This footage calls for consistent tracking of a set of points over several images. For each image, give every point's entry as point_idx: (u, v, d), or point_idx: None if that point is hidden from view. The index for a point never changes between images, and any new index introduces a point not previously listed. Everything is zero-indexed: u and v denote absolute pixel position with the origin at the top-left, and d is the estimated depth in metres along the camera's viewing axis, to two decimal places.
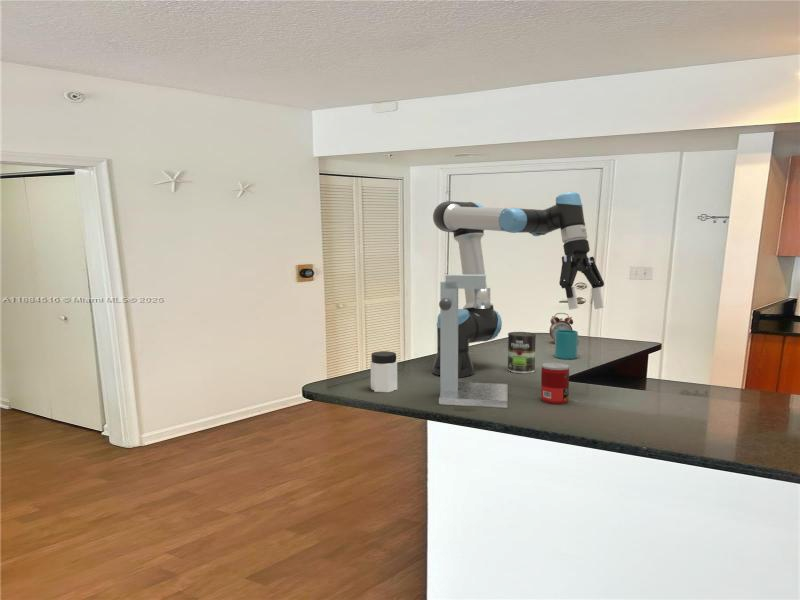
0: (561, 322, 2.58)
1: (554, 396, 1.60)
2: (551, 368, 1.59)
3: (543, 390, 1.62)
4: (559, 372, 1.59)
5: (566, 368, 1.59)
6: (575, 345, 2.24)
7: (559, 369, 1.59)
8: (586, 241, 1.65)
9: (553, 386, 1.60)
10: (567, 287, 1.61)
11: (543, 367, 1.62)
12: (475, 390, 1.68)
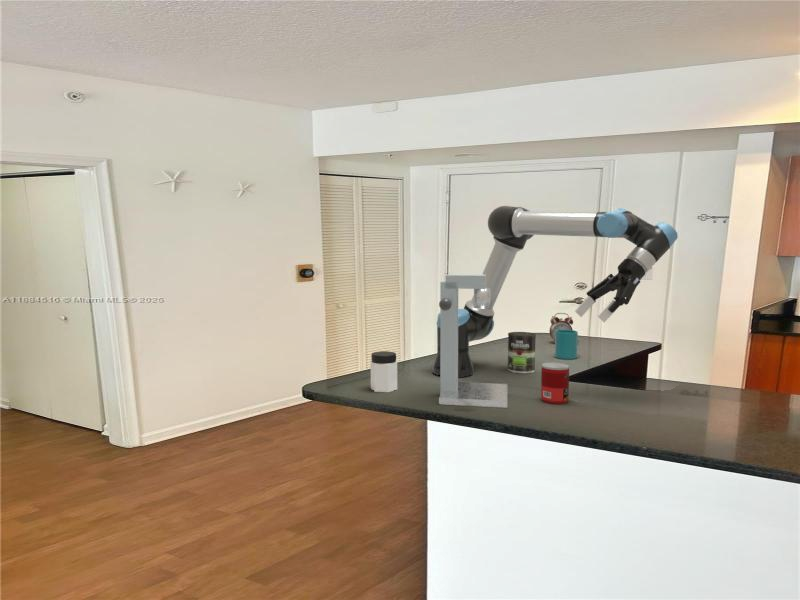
0: (561, 322, 2.58)
1: (554, 396, 1.60)
2: (551, 368, 1.59)
3: (543, 390, 1.62)
4: (559, 372, 1.59)
5: (566, 368, 1.59)
6: (575, 345, 2.24)
7: (559, 369, 1.59)
8: None
9: (553, 386, 1.60)
10: (619, 304, 1.55)
11: (543, 367, 1.62)
12: (475, 390, 1.68)
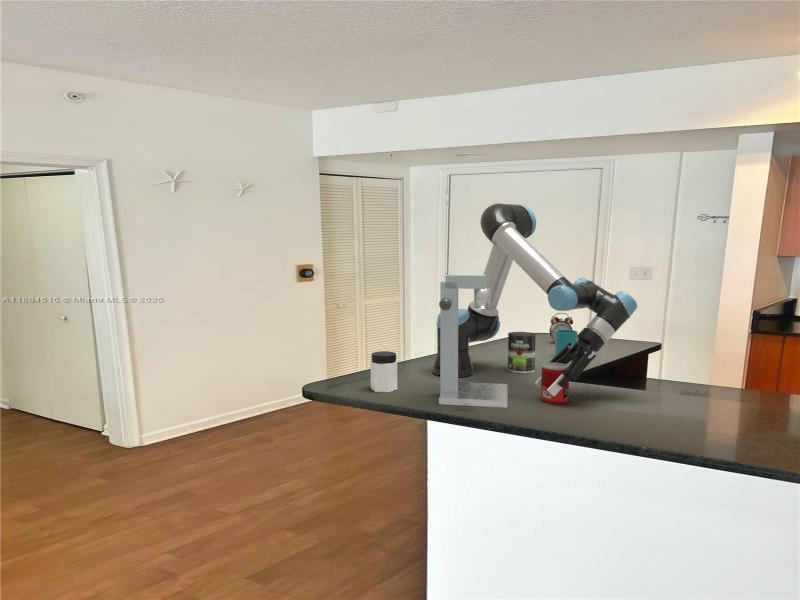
0: (561, 322, 2.58)
1: (554, 396, 1.60)
2: (551, 368, 1.59)
3: (543, 390, 1.62)
4: (559, 372, 1.59)
5: (566, 368, 1.59)
6: None
7: (559, 369, 1.59)
8: None
9: None
10: (568, 379, 1.57)
11: (543, 367, 1.62)
12: (475, 390, 1.68)
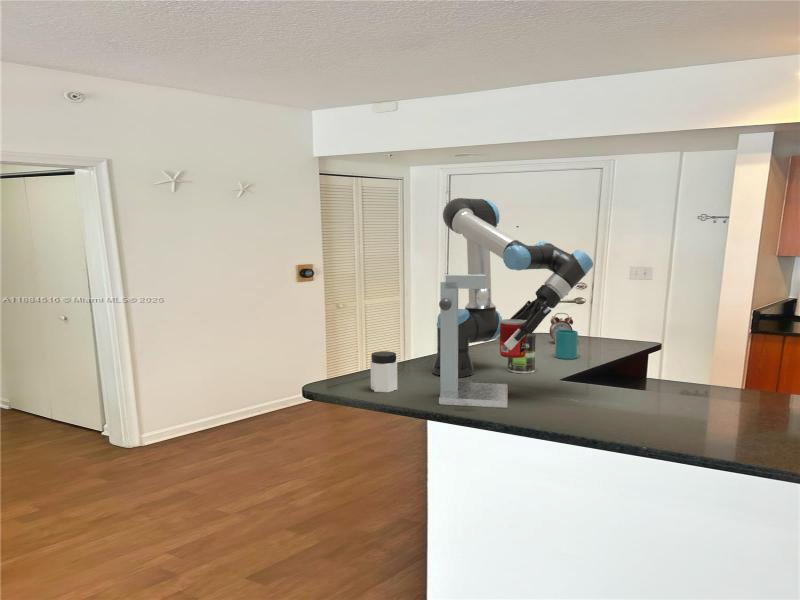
0: (561, 322, 2.58)
1: (511, 350, 1.65)
2: (508, 323, 1.64)
3: (501, 345, 1.67)
4: (516, 326, 1.64)
5: (523, 323, 1.64)
6: (575, 345, 2.24)
7: (516, 324, 1.64)
8: None
9: None
10: (524, 333, 1.62)
11: (501, 322, 1.67)
12: (475, 390, 1.68)
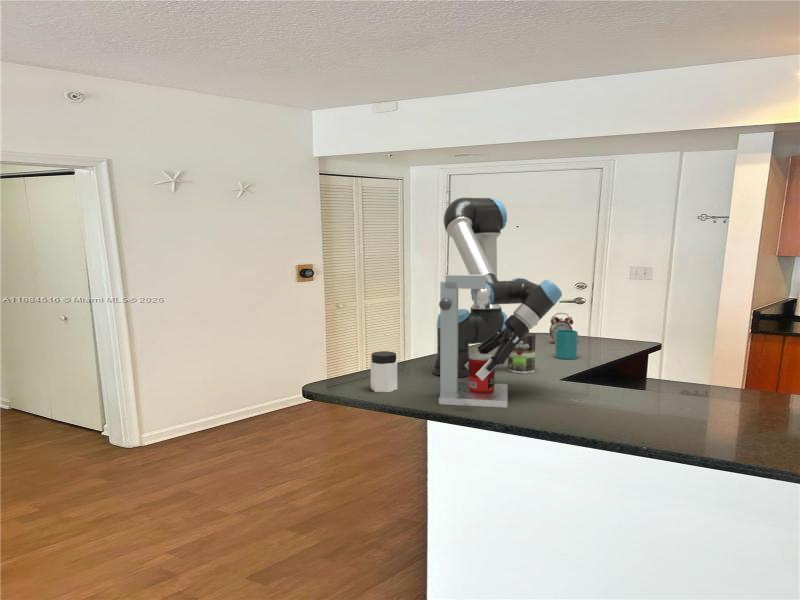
0: (561, 322, 2.58)
1: (479, 386, 1.64)
2: (476, 358, 1.64)
3: (470, 380, 1.66)
4: (484, 362, 1.63)
5: None
6: (575, 345, 2.24)
7: (484, 359, 1.63)
8: None
9: None
10: (495, 363, 1.60)
11: (469, 358, 1.66)
12: None
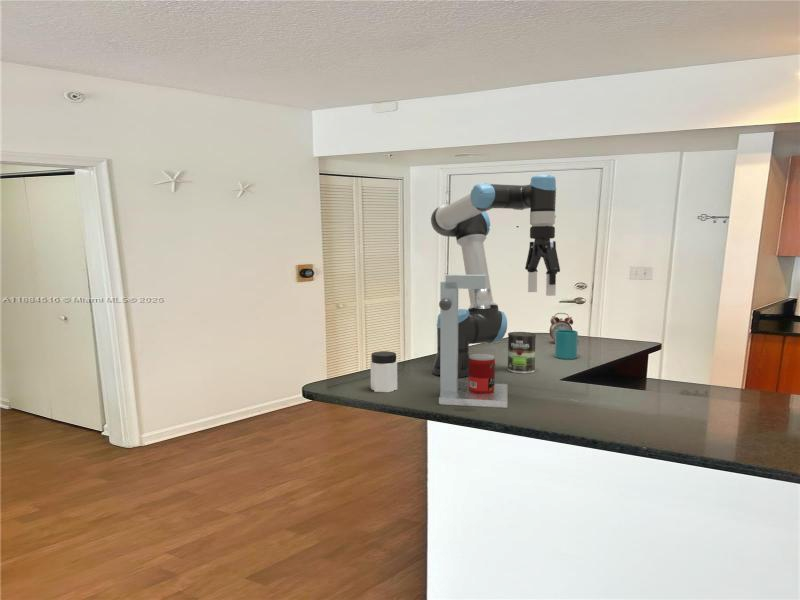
0: (561, 322, 2.58)
1: (479, 386, 1.64)
2: (476, 359, 1.64)
3: (470, 380, 1.66)
4: (484, 362, 1.63)
5: (491, 359, 1.64)
6: (575, 345, 2.24)
7: (484, 359, 1.63)
8: None
9: (478, 376, 1.64)
10: (554, 274, 1.61)
11: (469, 358, 1.66)
12: None
